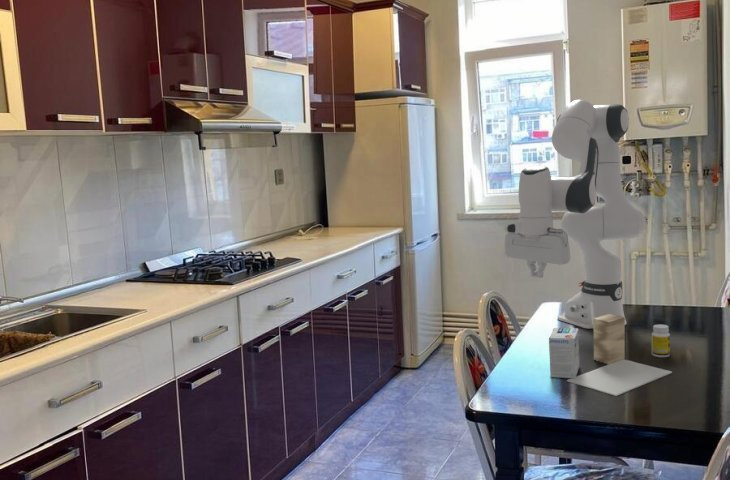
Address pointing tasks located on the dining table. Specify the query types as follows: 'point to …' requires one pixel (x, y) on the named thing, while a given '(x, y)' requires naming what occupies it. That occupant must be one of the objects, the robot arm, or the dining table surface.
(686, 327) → the dining table surface
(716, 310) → the dining table surface
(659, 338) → the supplement bottle
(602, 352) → the beech block
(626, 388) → the mat
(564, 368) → the light bulb box
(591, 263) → the robot arm
